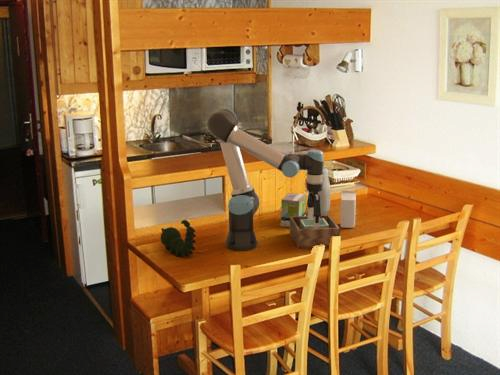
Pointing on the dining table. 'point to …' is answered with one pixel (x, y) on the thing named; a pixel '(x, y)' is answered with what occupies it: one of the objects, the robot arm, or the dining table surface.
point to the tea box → (292, 207)
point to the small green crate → (309, 223)
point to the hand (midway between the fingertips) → (313, 224)
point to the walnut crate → (312, 232)
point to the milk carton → (348, 209)
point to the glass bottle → (325, 193)
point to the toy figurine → (179, 240)
